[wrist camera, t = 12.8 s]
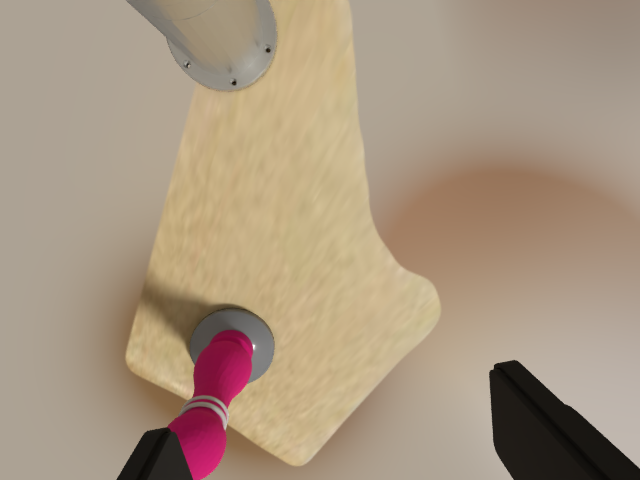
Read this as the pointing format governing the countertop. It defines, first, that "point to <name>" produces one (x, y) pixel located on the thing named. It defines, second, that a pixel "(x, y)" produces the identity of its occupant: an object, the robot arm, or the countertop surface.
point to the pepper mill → (212, 400)
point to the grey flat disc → (239, 322)
